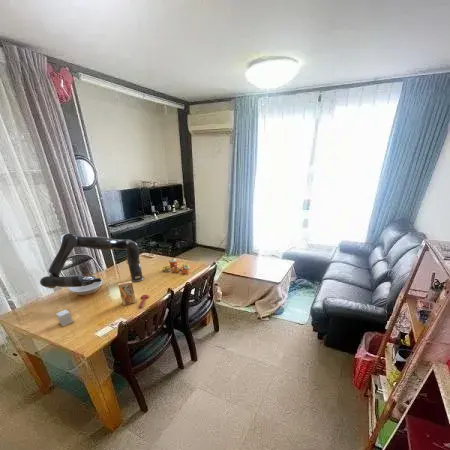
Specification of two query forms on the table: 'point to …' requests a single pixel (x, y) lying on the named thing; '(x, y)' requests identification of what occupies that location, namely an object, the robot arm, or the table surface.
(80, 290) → the soup bowl
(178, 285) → the table surface
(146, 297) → the spoon
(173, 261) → the toy tea set
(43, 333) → the table surface
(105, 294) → the table surface
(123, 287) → the candy box
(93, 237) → the robot arm
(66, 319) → the grey cube
